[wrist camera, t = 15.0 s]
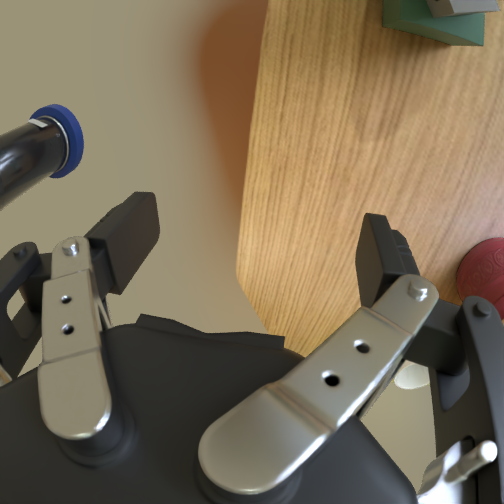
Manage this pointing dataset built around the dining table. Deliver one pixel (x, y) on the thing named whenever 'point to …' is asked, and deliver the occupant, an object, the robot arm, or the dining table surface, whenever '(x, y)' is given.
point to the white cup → (412, 376)
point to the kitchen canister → (484, 273)
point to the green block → (433, 23)
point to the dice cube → (461, 7)
